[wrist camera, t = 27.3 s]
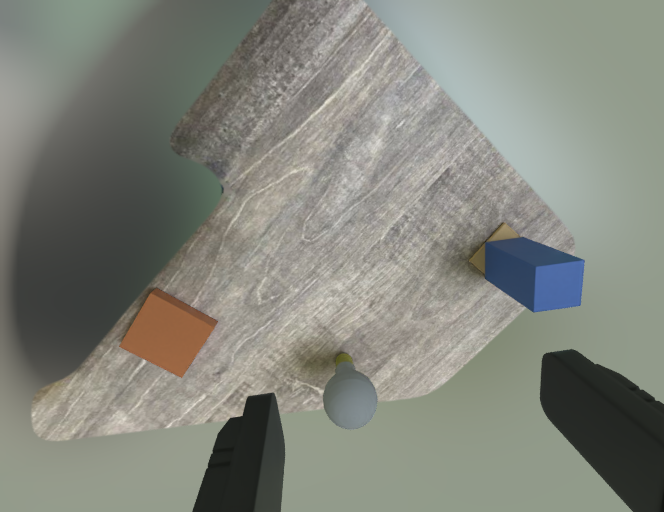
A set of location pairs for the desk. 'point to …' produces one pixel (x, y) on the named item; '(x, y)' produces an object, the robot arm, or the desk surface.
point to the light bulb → (349, 396)
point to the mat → (499, 234)
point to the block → (534, 273)
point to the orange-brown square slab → (168, 332)
